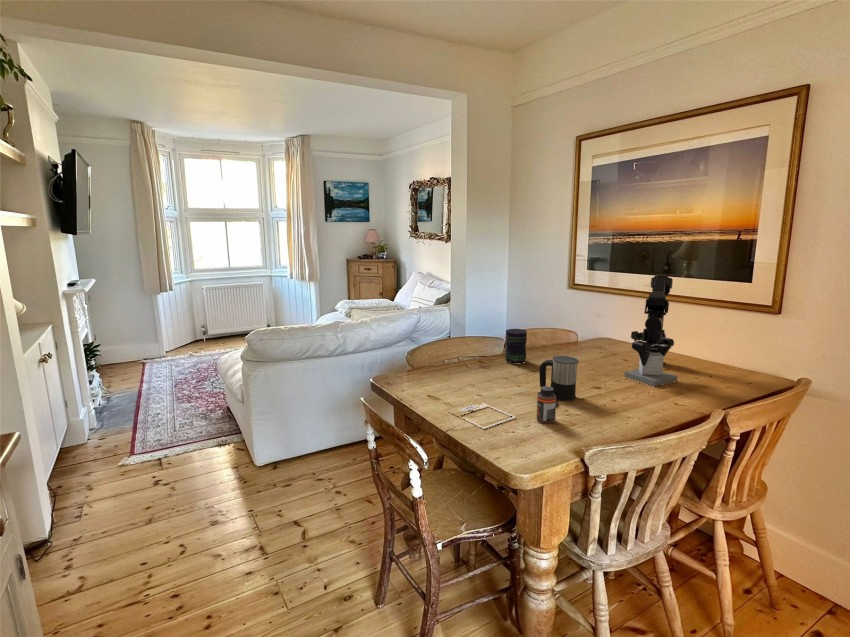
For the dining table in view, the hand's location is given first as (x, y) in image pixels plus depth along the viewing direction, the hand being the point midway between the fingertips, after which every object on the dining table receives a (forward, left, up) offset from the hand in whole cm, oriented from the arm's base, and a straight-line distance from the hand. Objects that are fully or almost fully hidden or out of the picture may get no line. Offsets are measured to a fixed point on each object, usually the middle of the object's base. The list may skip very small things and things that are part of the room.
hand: (651, 364), depth 187 cm
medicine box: (0, 0, -5) cm, 5 cm away
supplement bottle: (+66, +11, -7) cm, 67 cm away
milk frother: (+49, -1, -7) cm, 50 cm away
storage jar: (+32, -48, -7) cm, 58 cm away
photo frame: (+82, -3, -7) cm, 82 cm away
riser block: (0, 0, -7) cm, 7 cm away
